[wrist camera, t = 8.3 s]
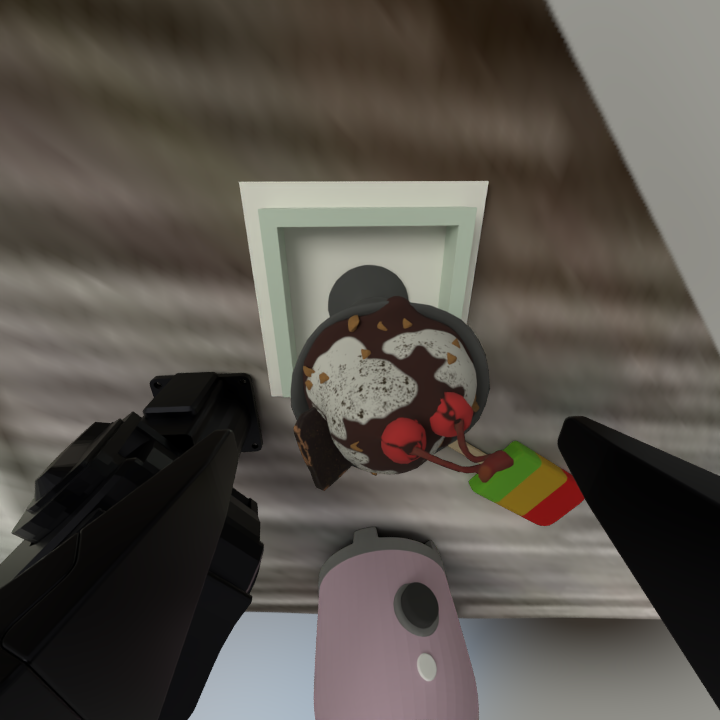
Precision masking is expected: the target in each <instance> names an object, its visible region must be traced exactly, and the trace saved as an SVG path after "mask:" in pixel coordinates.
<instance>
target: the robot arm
mask: <svg viewBox="0 0 720 720" xmlns="http://www.w3.org/2000/svg"><path fill="white" fill-rule="evenodd" d="M241 379H243V380H245V381H246V383H243V382H241ZM157 382H159V383H160V384H161V385H162V386H161V385H158V384H157ZM150 387H151V390H152V393H153V396H154V399H153V400H152V401H151V402H150V403H149V404H148V405H147V406H146V407H145V409H144V410H143V414H144V416H143V417H142V418H141V417H140V416H139V415H137V414H136V413H135V412H131V413H130V414H129V415H128V416H126V417H125V418H124V419H123V420H121V419H118V420H117V421H115V422H112V423H102V422H95V423H94V424H92V425H91V426H90V427H89V428H88V429H86V430H85V431H84V432H83V433H82V434H81V435H80V436H79V437H78V438H77V439H76V440H75V441H73V442H72V443H71V444H70V445H69V446H68V447H67V448H66V449H65V450H64V451H63V452H62V453H61V454H60V455H59V456H58V457H57V458H56V459H55V460H54V461H53V462H52V463H51V464H50V465H49V466H48V467H47V469H46V470H45V471H44V472H43V473H42V474H41V475H40V476H39V477H38V478H37V479H36V480H35V498H34V499H33V500H32V501H31V503H30V504H29V506H28V507H27V509H26V511H25V513H24V514H23V516H22V517H21V519H20V520H19V522H18V523H17V525H16V526H15V527H14V529H13V531H12V534H14V535H16V536H18V537H20V538H22V539H25V540H24V541H23V542H22V543H21V544H20V545H19V546H18V547H17V548H16V549H15V550H14V551H13V552H12V553H11V554H10V555H9V556H8V557H7V558H6V559H5V560H4V561H3V562H2V563H1V564H0V720H188V718H189V717H190V716H191V714H192V713H193V711H194V709H195V707H196V705H197V703H198V700H199V698H200V695H201V693H202V691H203V688H204V686H205V684H206V681H207V679H208V677H209V674H210V672H211V670H212V667H213V665H214V663H215V661H216V659H217V657H218V654H219V652H220V650H221V648H222V646H223V645H224V643H225V641H226V639H227V638H228V636H229V634H230V632H231V631H232V629H233V627H234V625H235V624H236V623H237V621H238V620H239V619H240V617H241V616H242V614H243V613H244V612H245V610H246V609H247V608H248V606H249V605H250V603H251V601H252V596H251V595H250V592H251V589H252V587H253V585H254V583H255V581H256V578H257V575H258V572H259V568H260V563H261V559H262V555H263V551H264V544H263V543H262V542H261V541H260V521H259V518H258V506H257V503H256V502H255V501H254V500H252V499H251V498H249V499H248V498H246V497H245V496H244V495H242V494H241V493H240V492H238V491H237V490H236V489H234V488H233V483H234V478H235V474H236V469H237V465H238V458H239V455H240V453H241V452H253V451H259V450H261V448H262V445H263V440H262V435H261V429H260V423H259V418H258V412H257V407H256V401H255V396H254V390H253V385H252V379H251V377H250V376H249V375H248V374H245V373H232V374H217V373H215V372H202V373H177V374H176V375H170V376H156V377H154V378H153V379H152V380H151V381H150ZM254 444H257V445H254ZM558 448H559V450H560V452H561V454H562V456H563V458H564V460H565V462H566V464H567V466H568V468H569V470H570V472H571V474H572V476H573V477H574V479H575V481H576V483H577V485H578V487H579V489H580V491H581V493H582V495H583V497H584V498H585V500H586V502H587V503H588V505H589V507H590V508H591V510H592V512H593V513H594V515H595V516H596V518H597V519H598V521H599V522H600V524H601V526H602V527H603V529H604V530H605V532H606V533H607V535H608V537H609V538H610V540H611V541H612V543H613V544H614V546H615V547H616V549H617V551H618V552H619V554H620V555H621V557H622V558H623V560H624V562H625V563H626V565H627V566H628V568H629V569H630V571H631V572H632V574H633V576H634V577H635V579H636V580H637V582H638V583H639V585H640V587H641V588H642V590H643V591H644V593H645V594H646V596H647V597H648V599H649V601H650V602H651V604H652V605H653V607H654V608H655V610H656V612H657V613H658V615H659V616H660V618H661V619H662V621H663V622H664V624H665V626H666V627H667V629H668V630H669V632H670V633H671V635H672V637H673V638H674V640H675V641H676V643H677V644H678V646H679V647H680V649H681V651H682V652H683V653H684V655H685V656H686V658H687V660H688V662H689V663H690V665H691V666H692V668H693V669H694V671H695V672H696V674H697V676H698V677H699V679H700V680H701V682H702V683H703V685H704V686H705V688H706V689H707V691H708V693H709V694H710V696H711V697H712V699H713V700H714V702H715V704H716V705H717V707H718V708H719V710H720V476H718V475H716V474H714V473H712V472H709V471H707V470H705V469H703V468H700V467H698V466H696V465H693V464H691V463H689V462H687V461H684V460H682V459H680V458H678V457H675V456H673V455H671V454H668V453H666V452H664V451H662V450H659V449H657V448H655V447H653V446H650V445H648V444H646V443H643V442H641V441H639V440H637V439H634V438H632V437H630V436H627V435H625V434H623V433H621V432H618V431H616V430H614V429H612V428H609V427H607V426H605V425H602V424H600V423H598V422H596V421H593V420H591V419H589V418H587V417H584V416H571V417H567V418H566V419H565V421H564V423H563V426H562V429H561V432H560V434H559V437H558Z"/></svg>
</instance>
